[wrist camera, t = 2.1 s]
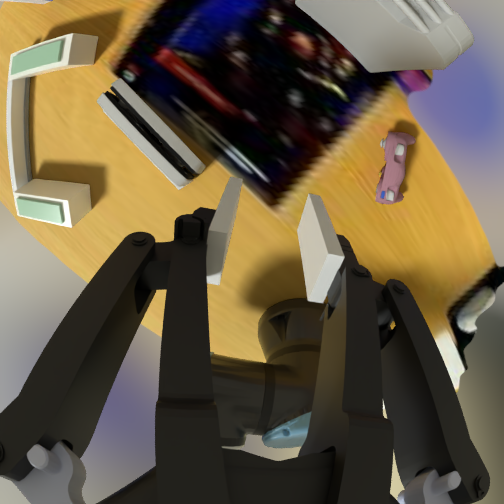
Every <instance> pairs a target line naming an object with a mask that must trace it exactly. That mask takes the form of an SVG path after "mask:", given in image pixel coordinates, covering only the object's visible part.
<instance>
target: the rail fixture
mask: <svg viewBox="0 0 504 504" xmlns="http://www.w3.org/2000/svg"><path fill="white" fill-rule="evenodd" d="M97 41H98V36H92V35H85V34H77V33H72V34H68V35H64V36H61V37H57V38H54V39H51V40H48V41H44V42H42V43H39V44H36V45H33V46H30V47H28V48H25V49H23V50H20V51H18V52H15V53H13V54H11V59H10V66H9V75H8V88H7V145H8V157H9V167H10V175H11V182H12V188H13V195H14V200H15V205H16V210H17V215H18V216H21V217H25V218H29V219H34V220H39V221H43V222H48V223H52V224H57V225H61V226H66V227H71V228H72V227H73V226H74V225H75V224H76V223H78V222H79V221H80V220H81V219H82V218H83V217H84V216H85V215H86V214H87V213H88V212H90V211H91V210H92V208H91V197H90V185H89V184H81V183H72V182H63V181H54V180H44V179H33V180H32V173H31V163H30V150H29V90H30V77H32V76H36V75H40V74H44V73H49V72H53V71H58V70H63V69H68V68H74V67H80V66H87V65H94V59H95V53H96V47H97Z"/></svg>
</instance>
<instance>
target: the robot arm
mask: <svg viewBox="0 0 504 504" xmlns="http://www.w3.org/2000/svg"><path fill="white" fill-rule="evenodd" d="M242 180H243V179H240V178H234V177H230V179H229V181H228V184H227V186H226V188H225V191H224V193H223V195H222V198H221V200H220V203H219V205H218V208H217V210H214V209H208V208H203V207H200V208H198V209H197V210H195V211H194V213H193V214H185V215H181V216H179V217H177V218H176V220H175V228H174V241H170V242H155V238H154V236H152V235H151V234H149V233H146V232H135V233H132V234H129V235H128V236H127V237H125V238H124V240H123V241H122V242H121V243H120V244H119V246H118V247H117V248H116V249H115V250H114V252H113V253H112V254H111V255H110V256H109V258H108V259H107V260H106V261H105V263H104V264H103V265H102V266H101V268H100V269H99V270H98V272H97V273H96V274H95V275H94V277H93V278H92V279H91V281H90V282H89V283H88V285H87V286H86V288H85V289H84V290H83V292H82V293H81V294H80V296H79V297H78V298H77V300H76V301H75V303H74V304H73V306H72V307H71V308H70V310H69V311H68V313H67V314H66V316H65V317H64V319H63V320H62V322H61V323H60V325H59V326H58V328H57V329H56V331H55V332H54V334H53V336H52V337H51V339H50V340H49V342H48V344H47V345H46V347H45V348H44V350H43V352H42V354H41V355H40V357H39V359H38V361H37V362H36V364H35V366H34V367H33V369H32V371H31V373H30V375H29V377H28V379H27V380H26V382H25V384H24V386H23V388H22V390H21V392H20V394H19V396H18V397H17V398H16V399H15V400H14V401H12V402H11V404H10V405H8V406H7V407H6V409H4V410H3V412H2V413H0V476H1V477H3V478H6V479H8V480H11V481H12V482H13V483H14V484H15V485H16V486H17V487H18V489H19V490H20V491H21V492H22V494H23V495H24V496H25V497H26V498H27V499H28V501H29V502H30V503H31V504H85V502H84V500H83V497H82V487H83V485H84V482H85V480H86V470H85V467H84V465H83V463H82V461H81V460H80V458H81V457H82V455H83V454H84V452H85V450H86V448H87V447H88V445H89V443H90V441H91V438H92V436H93V434H94V431H95V428H96V425H97V423H98V420H99V418H100V415H101V413H102V410H103V407H104V405H105V402H106V400H107V397H108V395H109V392H110V390H111V388H112V385H113V383H114V381H115V378H116V376H117V373H118V371H119V369H120V367H121V364H122V362H123V360H124V357H125V355H126V353H127V351H128V349H129V346H130V344H131V342H132V340H133V338H134V336H135V334H136V331H137V329H138V327H139V325H140V323H141V321H142V319H143V317H144V315H145V313H146V311H147V309H148V307H149V305H150V303H151V301H152V299H153V297H154V295H155V293H156V290H162V289H167V292H166V300H165V309H164V319H163V330H162V342H161V356H160V372H159V395H158V401H157V402H156V412H155V455H156V466H155V467H153V468H152V469H150V470H149V471H148V472H146V473H145V474H143V475H142V476H140V477H139V478H137V479H136V480H134V481H133V482H131V483H130V484H128V485H127V486H125V487H124V488H122V489H120V490H119V491H117V492H115V493H114V494H112V495H110V496H109V497H107V498H105V499H104V500H102V501H100V502H98V503H97V504H471V503H474V502H477V501H479V500H481V499H483V498H484V497H485V495H486V494H487V492H488V489H489V486H490V477H489V473H488V471H487V469H486V467H485V465H484V463H483V461H482V459H481V458H480V456H479V454H478V452H477V450H476V448H475V446H474V445H473V443H472V441H471V439H470V436H469V433H468V429H467V426H466V422H465V419H464V416H463V412H462V409H461V406H460V403H459V401H458V397H457V395H456V392H455V389H454V386H453V384H452V381H451V378H450V376H449V373H448V371H447V368H446V366H445V363H444V361H443V358H442V356H441V354H440V351H439V349H438V347H437V345H436V342H435V340H434V338H433V336H432V334H431V332H430V329H429V327H428V325H427V323H426V321H425V319H424V317H423V315H422V313H421V311H420V309H419V307H418V305H417V303H416V301H415V300H414V298H413V296H412V294H411V292H410V290H409V289H408V288H407V286H406V285H404V283H402V282H401V281H399V280H395V279H390V280H388V281H387V283H386V285H385V286H384V285H382V284H380V283H377V282H375V281H373V280H372V275H371V273H370V272H369V271H368V269H366V268H365V267H364V266H362V265H359V263H358V261H357V259H356V256H355V254H354V253H353V249H352V247H351V245H350V242H349V241H348V240H347V239H346V238H345V237H344V236H343V235H338V234H336V233H335V230H334V228H333V225H332V223H331V220H330V218H329V216H328V213H327V211H326V208H325V206H324V204H323V201H322V199H321V197H320V196H318V195H314V194H310V193H309V194H308V197H307V201H306V204H305V207H304V211H303V214H302V217H301V220H300V223H299V227H298V230H297V232H298V238H299V244H300V251H301V257H302V264H303V270H304V277H305V284H306V291H307V299H291V300H287V301H283V302H280V303H278V304H276V305H274V306H272V307H270V308H269V309H268V310H267V311H265V312H264V314H263V315H262V316H261V318H260V320H259V324H258V338H259V342H260V344H261V347H262V350H263V353H264V355H265V358H266V363H263V362H256V361H250V360H244V359H238V358H233V357H227V356H222V355H217V354H214V352H210V340H209V321H208V299H207V283H210V284H215V285H219V284H220V280H221V276H222V271H223V267H224V263H225V259H226V255H227V250H228V246H229V242H230V238H231V234H232V230H233V226H234V222H235V218H236V212H237V207H238V201H239V196H240V191H241V185H242ZM327 295H328V300H329V302H328V304H327V305H326V304H324V303H323V302H324V300H325V298H326V296H327ZM393 321H394V322H395V325H396V326H395V327H394V329H393V330H392V329H391V327H390V325H391V323H392V322H393ZM383 401H384V405H385V410H386V414H387V419H386V418H384V416H383ZM247 434H253V435H262V441H263V443H264V445H265V446H267V447H273V448H293V447H299V446H302V447H301V449H300V451H299V455H298V457H296V458H292V459H287V460H283V461H274V460H271V459H267V458H264V457H260V456H257V455H254V454H251V453H248V452H245V451H242V450H239V449H241V448H242V447H244V445H245V440H246V435H247ZM393 449H394V453H395V460H396V465H397V469H398V473H399V476H400V479H401V482H402V484H403V486H404V488H405V490H403V491H401V492H400V493H399V495H398V501H397V500H396V499H395V498H394V497H393V496H392V495H391V494H390V487H391V476H392V464H393Z"/></svg>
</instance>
